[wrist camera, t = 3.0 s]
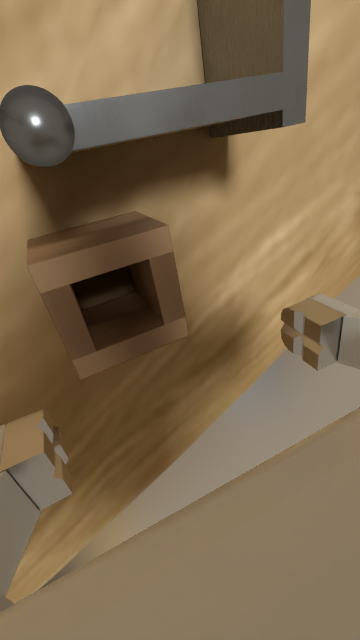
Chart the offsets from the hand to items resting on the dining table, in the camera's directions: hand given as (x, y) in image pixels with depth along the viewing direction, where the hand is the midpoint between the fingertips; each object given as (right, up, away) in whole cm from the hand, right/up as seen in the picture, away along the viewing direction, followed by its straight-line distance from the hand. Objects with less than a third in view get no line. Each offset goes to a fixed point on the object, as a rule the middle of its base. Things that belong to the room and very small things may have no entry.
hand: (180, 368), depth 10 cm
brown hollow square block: (-5, +4, +8) cm, 10 cm away
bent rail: (-3, +14, +4) cm, 15 cm away
